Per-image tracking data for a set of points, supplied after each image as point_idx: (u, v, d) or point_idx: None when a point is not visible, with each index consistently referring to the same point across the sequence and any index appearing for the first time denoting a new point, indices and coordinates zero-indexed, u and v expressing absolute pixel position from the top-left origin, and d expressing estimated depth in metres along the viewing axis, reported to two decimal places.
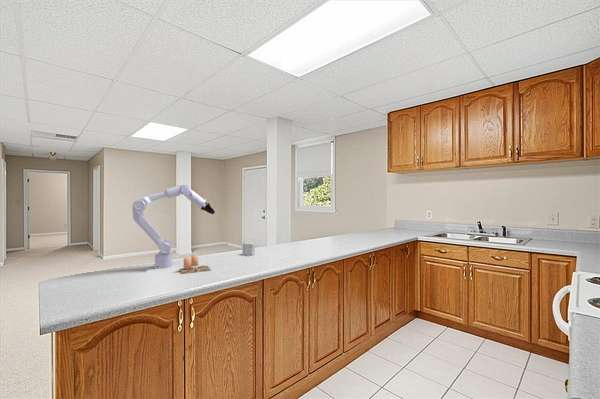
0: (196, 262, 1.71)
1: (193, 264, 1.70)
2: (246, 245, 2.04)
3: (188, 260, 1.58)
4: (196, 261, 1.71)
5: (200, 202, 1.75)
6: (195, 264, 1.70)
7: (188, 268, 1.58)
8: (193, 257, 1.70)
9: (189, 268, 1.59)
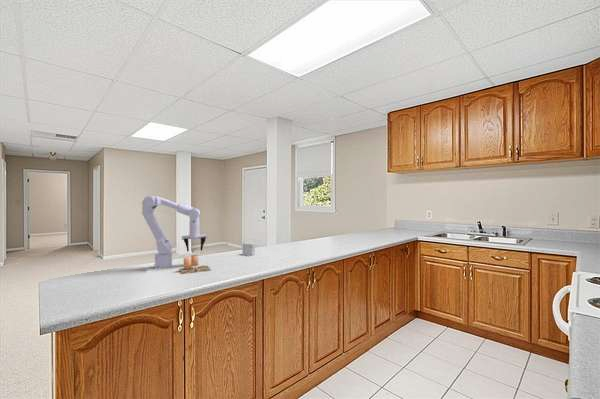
0: (196, 262, 1.71)
1: (193, 264, 1.70)
2: (246, 245, 2.04)
3: (188, 260, 1.58)
4: (196, 261, 1.71)
5: None
6: (195, 264, 1.70)
7: (188, 268, 1.58)
8: (193, 257, 1.70)
9: (189, 268, 1.59)
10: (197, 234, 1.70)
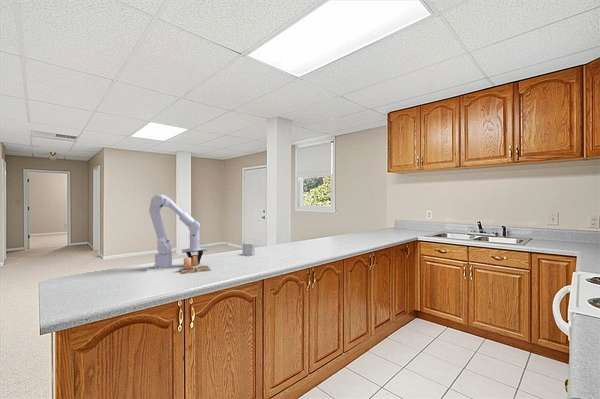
0: (196, 262, 1.71)
1: (193, 264, 1.70)
2: (246, 245, 2.04)
3: (188, 260, 1.58)
4: (196, 261, 1.71)
5: None
6: (195, 264, 1.70)
7: (188, 268, 1.58)
8: (193, 257, 1.70)
9: (189, 268, 1.59)
10: (197, 247, 1.70)
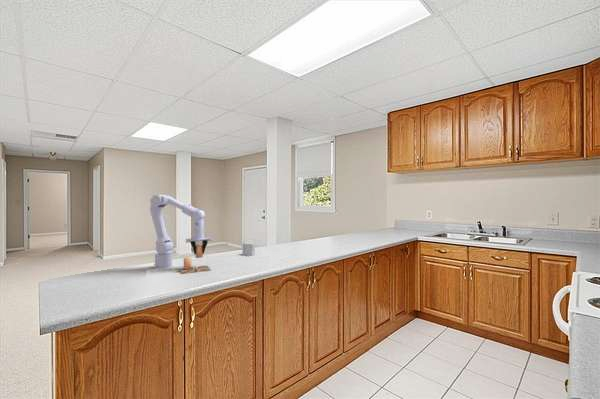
0: (201, 252, 1.66)
1: (197, 254, 1.65)
2: (246, 245, 2.04)
3: (188, 260, 1.58)
4: (200, 251, 1.66)
5: None
6: (199, 254, 1.65)
7: (188, 268, 1.58)
8: (197, 247, 1.65)
9: (189, 268, 1.59)
10: (202, 237, 1.65)
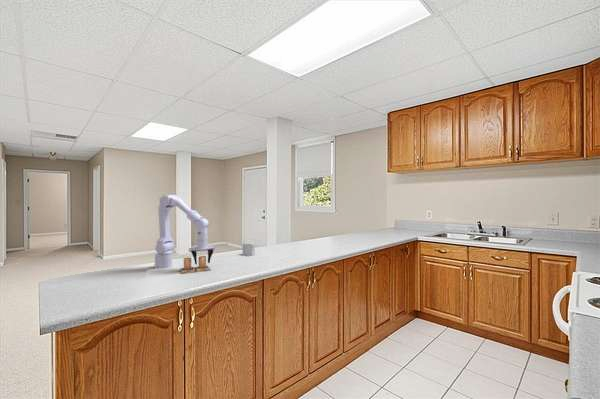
0: (204, 264, 1.62)
1: (201, 266, 1.61)
2: (246, 245, 2.04)
3: (188, 260, 1.58)
4: (204, 263, 1.62)
5: (197, 245, 1.62)
6: (203, 266, 1.62)
7: (188, 268, 1.58)
8: (201, 258, 1.61)
9: (189, 268, 1.59)
10: (205, 246, 1.62)
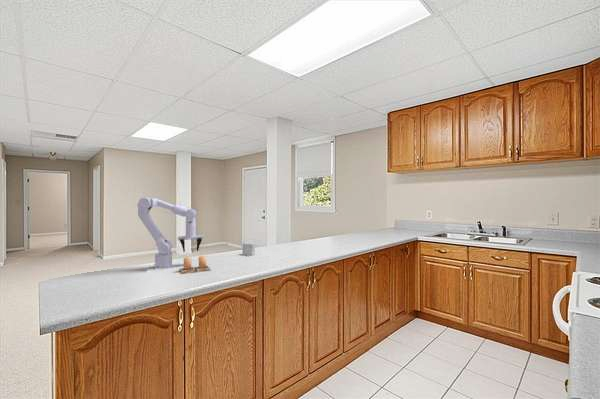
0: (204, 264, 1.62)
1: (201, 266, 1.61)
2: (246, 245, 2.04)
3: (188, 260, 1.58)
4: (204, 263, 1.62)
5: None
6: (203, 266, 1.62)
7: (188, 268, 1.58)
8: (201, 258, 1.61)
9: (189, 268, 1.59)
10: (193, 235, 1.71)
